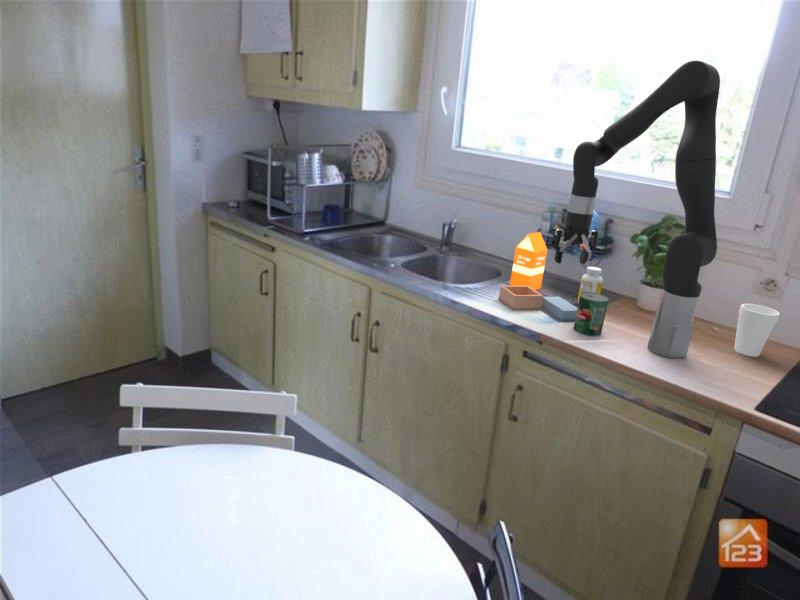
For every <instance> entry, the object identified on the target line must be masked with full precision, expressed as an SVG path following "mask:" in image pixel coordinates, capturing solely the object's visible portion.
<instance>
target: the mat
mask: <svg viewBox="0 0 800 600" xmlns="http://www.w3.org/2000/svg"><path fill="white" fill-rule="evenodd" d="M539 310H540V311H541V312H542V313H544V314H545V315H547V316H549V318H551V319H553V320H554V321H555V322H557V323H575V320H561V319H559V318H558V317H557V316H555V315H554V314H552V313H551V312H549V311H548V310H546V309H545V308H543V307H542V306H541V309H539Z"/></svg>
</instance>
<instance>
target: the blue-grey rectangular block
mask: <svg viewBox="0 0 800 600" xmlns="http://www.w3.org/2000/svg"><path fill="white" fill-rule="evenodd" d="M541 306H542V307H543V308H545V309H546V310H548V311H549V312H551V313H552V314H554V315H555V316H557V317H558V318H559V319H561V320H575V319H576V314H577V309H578V306H575V305H573V304H572V303H570V302H568V301H567V300H565V299H564V298H562V297H561V296H543V300H542V305H541Z"/></svg>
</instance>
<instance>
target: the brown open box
mask: <svg viewBox="0 0 800 600" xmlns="http://www.w3.org/2000/svg"><path fill="white" fill-rule="evenodd" d="M499 287H500V288H499V294H498V300H499V301H500V302H502V303H503V304H504V305H505V306H507V307H508V308H509V309H510V310H512V311H526V310H527V311H528V310H529V311H530V310H539V309H541V305H542V300H543V297H544V294H541V293H540V292H538V290H534V289H532V288H531V287H529V286H510V285H500V286H499Z"/></svg>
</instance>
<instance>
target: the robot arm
mask: <svg viewBox="0 0 800 600" xmlns="http://www.w3.org/2000/svg"><path fill="white" fill-rule="evenodd" d="M720 87H721V76H720V73H719V71H718V69H717V68H716V67H715V66H713V65H712V64H709V63H708V62H707V63H706V62H704V61H701V60H690V61H687V62H685V63H683V64H682V65H680V66H679V67H678V68H677V69H675V71H673V73H671V75H669V77H667V79H665V80H664V82H662V83H661V84H660V86H658V87H657V88H656V89H655V90H653V92H652V93H651V94H650V95H648V96H647V97H646V98H645V99H644V100H643V101H641V102H640V103H639V104H638V105H636V107H633V108H632V109H631V110H630V111H628V112H627V113H626V114H624V115H623V116H621V117H620V118H619V119H617V120H616V121H614V122H613V123H612V124H611V125H609V126H608V127H606V128H605V130H604V132H603V133H602V134H603V135H602V136H601V137H600V138H599V139H597V140H595V141H583V142H581V143H580V144H578V145H577V147H576V148H575V151H574V154H573V159H572V160H573V161H572V167H573V171H572V172H573V184H572V187H571V194H570V197H569V199H568V204H567V205H568V206H567V209H566V215H565V220H564V228H563V229H558V228H554V230H553V234H552V239H551V243H550V248H552V249H554V250H555V253H554V254H555V255H554V261H555V263H556V264H559V265H560V264H562V260H563V255H564V252H563V251H564V250H565V249H566V248H567V247H569V246H570V245H571V246H572V245H577V246H580V247H581V252H580V256H579V257H580V258H579V263H580V264H582V265H585V264H586V263H587V262H588V257H589V253H590V252H591V251H595V250H596V249H597V243H598V238H599V237H598V235H599V232H598V231H597V230H594V229H591V230H590V228H591V226H592V222H593V217H594V216H593V215H594V213H595V212H594V210H595V207H596V206H595V205H596V196H597V192H598V187H599V179H598V178H597V177H596V175H595V169H596V168H597V167H599V166H602V165H604V164H605V163H607V162H608V161H610V160H611V159H612V158H613V157H614V156H615V155H616V154H617V153H618V152H619V151H620V150H621V149H623V148H625V147H626V146H628V145H629V144H631V142H633V141H635V140H636V139H637V138H639V137H641V136H642V135H643V134H644V133H645V132H646V131H647V130H648V129H649V128H650V127H651V126H652V125H653V124H654V123H655V122H656V121H657V120H658V119H659V118H660V117H661V116H663V114H665V113H666V112H668V111H669V110H671V109H672V108H674V107H675V106H677V105H680V104H682V103H684V114H685V115H684V117H685V118H684V126H683V131H682V133H681V137H680V141H679V143H678V146H677V149H676V154H675V166H674V168H675V170H674V171H675V172H674V173H675V174H674V175H675V176H674V177H675V179H674V180H675V186H676V190H677V192H678V195H679V198H680V201H681V204H682V206H683V210H684V217H685V221H684V224H685V227H684V233H681V234H678V235H677V236H675V237H673V239H671V241H670V243H669V245H668V247H667V251H666V255H665V260H664V263H663V264H664V265H663V269H662V287H661V288H662V289H661V291H660V296H659V299H658V304H657V308H656V311H655V316H654V318H653V323H652V328H651V330H650V331H651V332H650V335H649V339H648V343H647V349H648V350H649V351H651V352H652V353H654V354H657V355H660V356H663V357H666V358H667V359H676V358H677V359H678V358H679V359H680V358H687V355H688V352H689V349H690V343H691V341H692V337H693V334H694V331H695V330H694V329H695V328H696V327H695V324H694V323H693V321H694V318H695V314H696V311H697V307H698V303H699V300H700V296H701V292H702V287H703V286H702V284H701V283H699V275H700V271H701V267H705V266H708V265H709V264H711V263H712V262H713V261H714V259H715V257H716V255H717V252H718V239H717V230H716V220H715V219H716V218H715V217H716V216H715V205H716V204H715V203H716V202H715V201H716V199H715V198H716V176H717V175H716V173H717V171H716V170H717V151H716V150H717V132H716V131H717V128H716V127H717V126H716V125H717V123H716V121H717V120H716V119H717V109H718V101H719V95H720ZM587 238H588V240H587Z"/></svg>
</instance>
